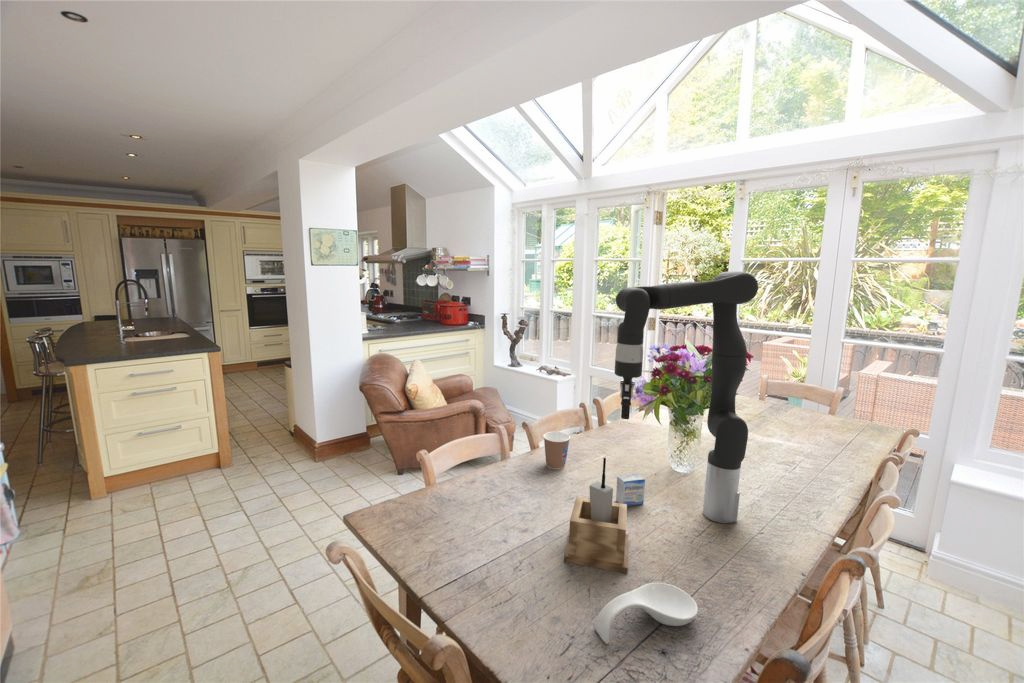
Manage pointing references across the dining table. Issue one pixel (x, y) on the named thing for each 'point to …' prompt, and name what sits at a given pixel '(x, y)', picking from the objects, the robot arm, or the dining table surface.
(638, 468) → the dining table surface
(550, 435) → the coffee cup
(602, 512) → the vintage mobile phone
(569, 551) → the socket block
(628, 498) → the medicine box
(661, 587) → the spoon rest
